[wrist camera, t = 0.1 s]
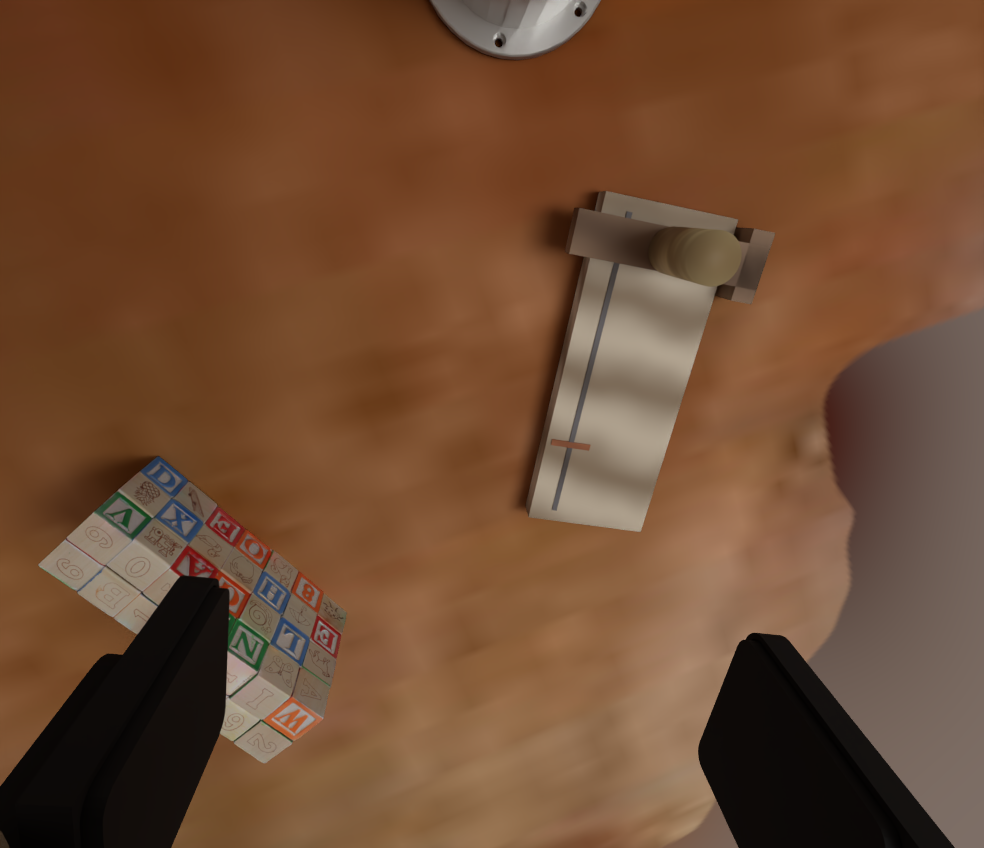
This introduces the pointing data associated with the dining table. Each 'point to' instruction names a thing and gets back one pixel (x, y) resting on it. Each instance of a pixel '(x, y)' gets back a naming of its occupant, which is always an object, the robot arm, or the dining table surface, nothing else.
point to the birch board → (620, 380)
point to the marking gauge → (675, 250)
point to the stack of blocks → (238, 567)
